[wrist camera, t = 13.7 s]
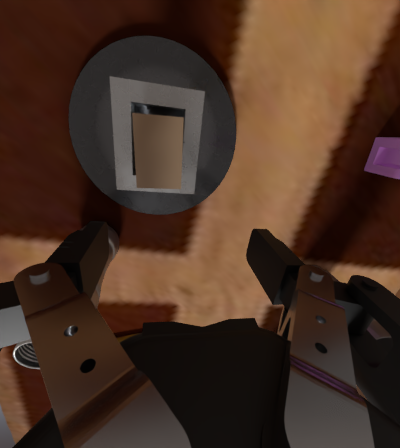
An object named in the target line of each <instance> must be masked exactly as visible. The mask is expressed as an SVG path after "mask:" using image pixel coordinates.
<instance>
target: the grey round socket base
mask: <svg viewBox="0 0 400 448" xmlns="http://www.w3.org/2000/svg"><path fill="white" fill-rule="evenodd" d="M132 113H140V114H151V115H162V116H173V117H184V122H183V149H182V176H181V189H154V188H137V184H136V168H135V151H134V134H133V117H132ZM69 129H70V135H71V140H72V144H73V147H74V150H75V153H76V156H77V158H78V160H79V162H80V164H81V166H82V167H83V169H84V171H85V172H86V174H87V175H88V177H89V178H90V179H91V180H92V182H93V183H94V184H95V185H96V186H97V187H98V188H99V189H100V190H101V191H102V192H103V193H104V194H106V195H107V196H108V197H110V198H111V199H112V200H114V201H116V202H117V203H119V204H121V205H123V206H125V207H127V208H129V209H132V210H135V211H138V212H143V213H147V214H171V213H177V212H181V211H184V210H186V209H189V208H192V207H193V206H195V205H197V204H199V203H200V202H202V201H203V200H205V199H206V198H207V197H208V196H209V195H210V194H212V193H213V192H214V191H215V189H216V188H217V187H218V186H219V185H220V183H221V182H222V180H223V179H224V177H225V175H226V173H227V171H228V169H229V167H230V164H231V161H232V159H233V154H234V150H235V143H236V123H235V115H234V111H233V107H232V103H231V101H230V98H229V95H228V93H227V91H226V89H225V87H224V85H223V83H222V81H221V80H220V78H219V77H218V75H217V74H216V72H215V71H214V70H213V69H212V68H211V67H210V65H209V64H208V63H207V62H206V61H205V60H204V59H202V58H201V57H200V56H199V55H198V54H197V53H195V52H194V51H192V50H190V49H189V48H187V47H186V46H184V45H182V44H179V43H177V42H175V41H172V40H169V39H165V38H162V37H155V36H134V37H130V38H125V39H121V40H119V41H117V42H114V43H112V44H110V45H108V46H107V47H105V48H103V49H102V50H100V51H99V52H98V53H97V54H96V55H95V56H94V57H93V58H91V59H90V61H89V62H88V63H87V64H86V66H85V67H84V68H83V70H82V71H81V73H80V75H79V77H78V79H77V80H76V83H75V86H74V89H73V91H72V95H71V100H70V105H69Z"/></svg>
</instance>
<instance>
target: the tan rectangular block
mask: <svg viewBox="0 0 400 448" xmlns="http://www.w3.org/2000/svg"><path fill="white" fill-rule="evenodd" d="M132 117H133V134H134V151H135V168H136V184H137V188H154V189H181V176H182V149H183V122H184V117H173V116H162V115H151V114H140V113H132Z"/></svg>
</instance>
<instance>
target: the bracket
mask: <svg viewBox="0 0 400 448" xmlns="http://www.w3.org/2000/svg"><path fill="white" fill-rule="evenodd" d="M364 171H367V172H371V173H375V174H379V175H383V176H387V177H391V178H396V179H400V137H376V139H375V141H374V144H373V147H372V150H371V152H370V155H369V158H368V160H367V163H366V166H365V169H364Z"/></svg>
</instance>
